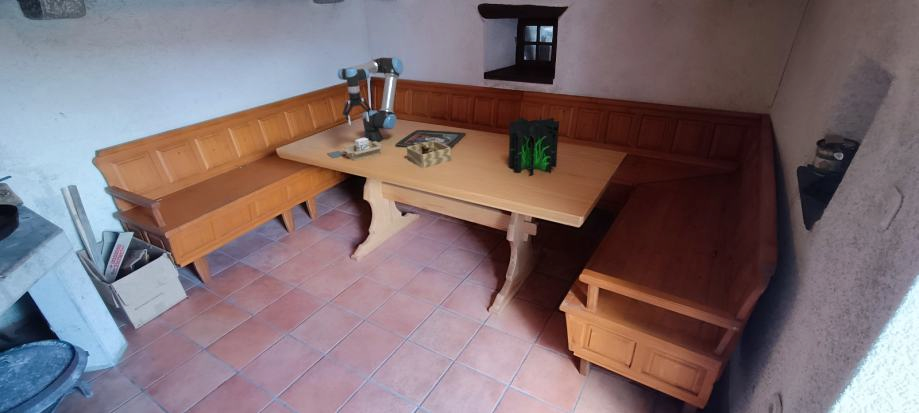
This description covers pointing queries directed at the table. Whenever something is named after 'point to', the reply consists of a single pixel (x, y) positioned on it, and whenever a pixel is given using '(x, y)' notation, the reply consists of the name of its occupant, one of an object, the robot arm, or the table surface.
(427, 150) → the bear figurine
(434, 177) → the table surface
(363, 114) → the robot arm
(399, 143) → the religious icon
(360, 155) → the carton
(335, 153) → the mat
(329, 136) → the table surface
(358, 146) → the ink box
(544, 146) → the decorative plant
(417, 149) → the box
